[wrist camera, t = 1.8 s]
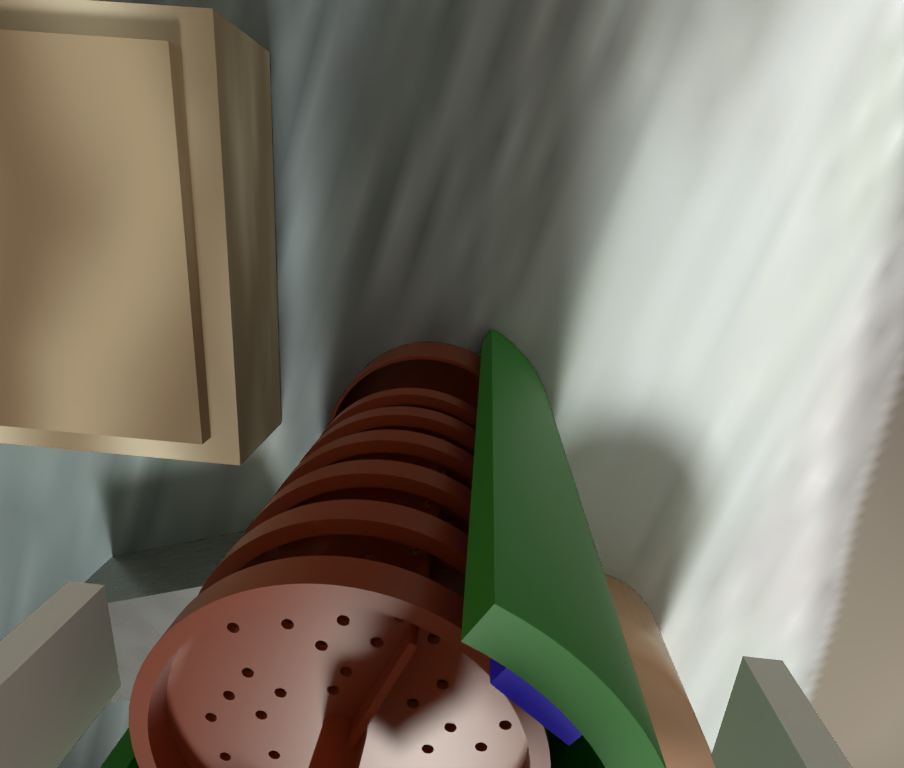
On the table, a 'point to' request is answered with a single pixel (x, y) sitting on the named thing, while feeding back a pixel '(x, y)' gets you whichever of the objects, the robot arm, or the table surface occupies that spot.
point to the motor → (406, 597)
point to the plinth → (136, 232)
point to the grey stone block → (154, 595)
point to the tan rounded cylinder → (659, 682)
